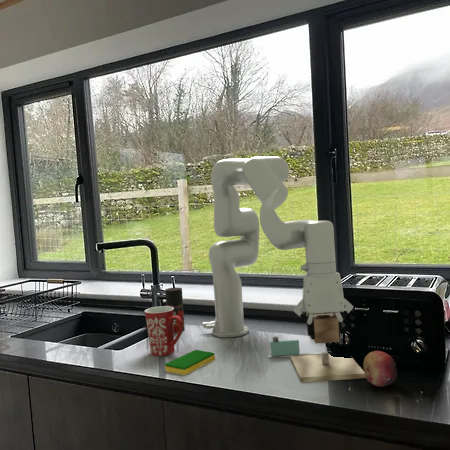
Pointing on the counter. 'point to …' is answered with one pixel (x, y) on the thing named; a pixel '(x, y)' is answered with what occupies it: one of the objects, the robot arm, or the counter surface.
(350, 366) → the seat
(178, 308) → the deodorant
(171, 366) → the dish sponge
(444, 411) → the counter surface
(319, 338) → the block
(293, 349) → the bar
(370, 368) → the fruit
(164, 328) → the mug
